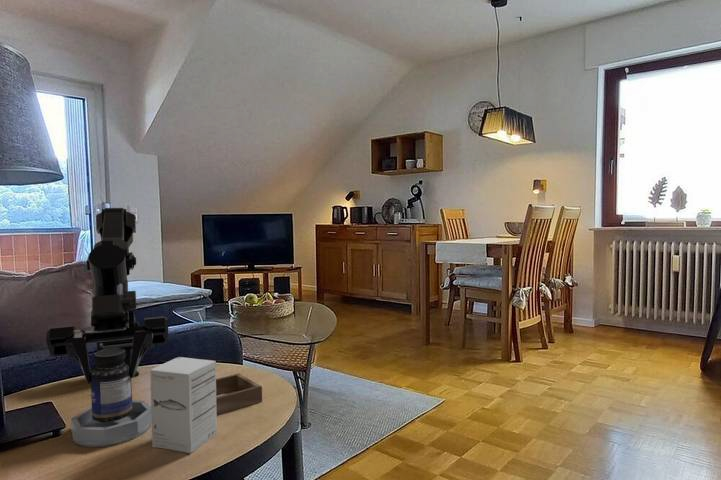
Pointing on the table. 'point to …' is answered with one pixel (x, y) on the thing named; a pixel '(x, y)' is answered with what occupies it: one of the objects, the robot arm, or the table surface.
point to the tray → (111, 427)
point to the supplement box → (183, 404)
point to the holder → (236, 393)
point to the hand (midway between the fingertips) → (110, 379)
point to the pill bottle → (111, 386)
